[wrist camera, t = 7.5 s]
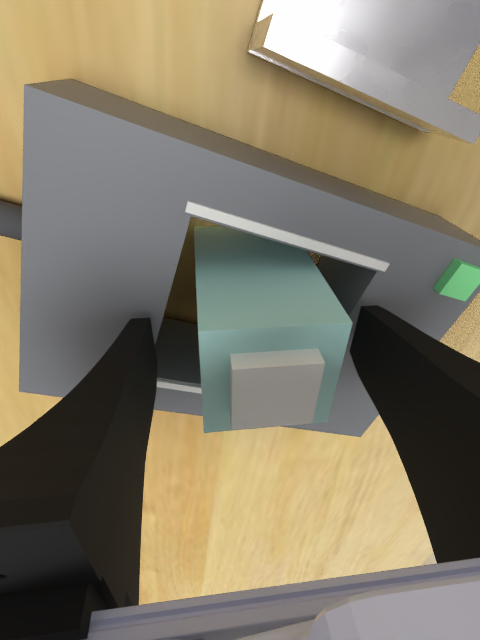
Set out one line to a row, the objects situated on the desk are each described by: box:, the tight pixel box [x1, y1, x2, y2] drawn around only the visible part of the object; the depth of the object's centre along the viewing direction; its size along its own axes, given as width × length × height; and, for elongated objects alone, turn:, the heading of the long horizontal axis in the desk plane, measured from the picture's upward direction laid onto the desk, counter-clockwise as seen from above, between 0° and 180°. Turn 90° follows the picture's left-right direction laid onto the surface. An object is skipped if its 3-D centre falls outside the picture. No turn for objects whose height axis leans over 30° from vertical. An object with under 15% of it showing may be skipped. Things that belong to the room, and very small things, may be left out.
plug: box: [194, 226, 353, 433], centre depth 13 cm, size 4×4×8 cm
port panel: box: [19, 79, 480, 437], centre depth 14 cm, size 15×10×4 cm, turn 70°
